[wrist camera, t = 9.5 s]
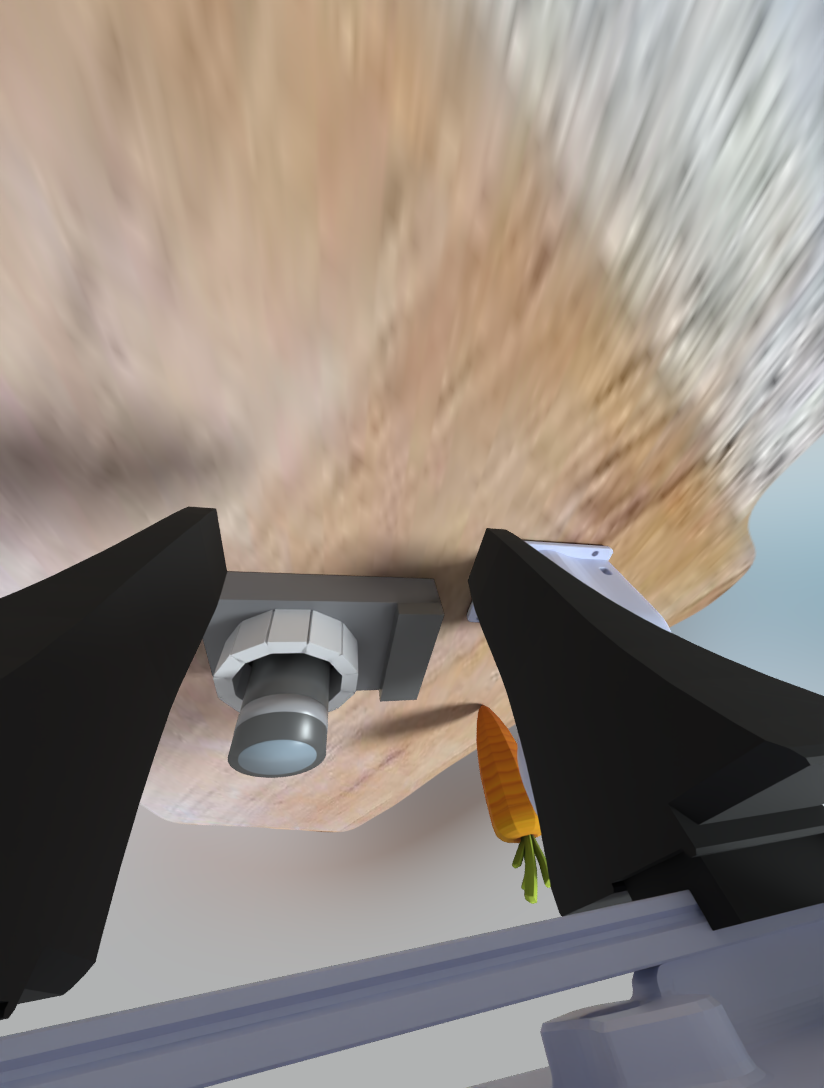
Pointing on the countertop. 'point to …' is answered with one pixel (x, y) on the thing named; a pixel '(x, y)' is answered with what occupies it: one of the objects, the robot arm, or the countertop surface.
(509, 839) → the carrot
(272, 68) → the countertop surface
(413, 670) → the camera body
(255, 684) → the lens
